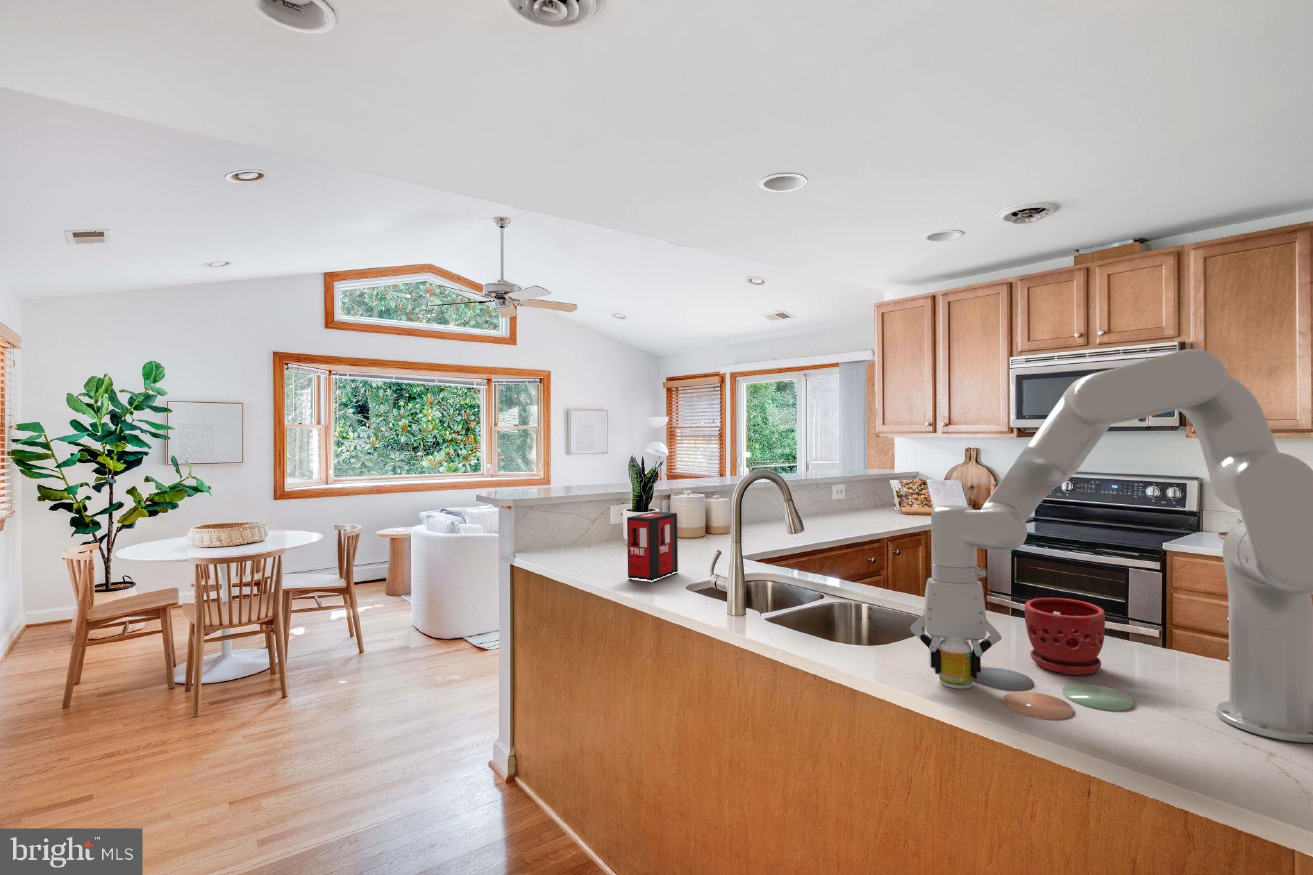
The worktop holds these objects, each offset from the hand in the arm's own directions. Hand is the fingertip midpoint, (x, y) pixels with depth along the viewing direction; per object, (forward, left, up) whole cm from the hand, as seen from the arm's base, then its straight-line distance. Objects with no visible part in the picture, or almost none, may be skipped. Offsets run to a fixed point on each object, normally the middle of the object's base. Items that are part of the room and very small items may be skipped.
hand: (955, 672), depth 118 cm
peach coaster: (-12, +6, -2) cm, 14 cm away
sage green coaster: (-22, -1, -2) cm, 22 cm away
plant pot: (-20, -16, -2) cm, 26 cm away
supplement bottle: (0, 0, -2) cm, 2 cm away
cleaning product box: (+86, -67, -2) cm, 109 cm away
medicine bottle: (+1, -12, -2) cm, 12 cm away
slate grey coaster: (-8, -5, -2) cm, 10 cm away
